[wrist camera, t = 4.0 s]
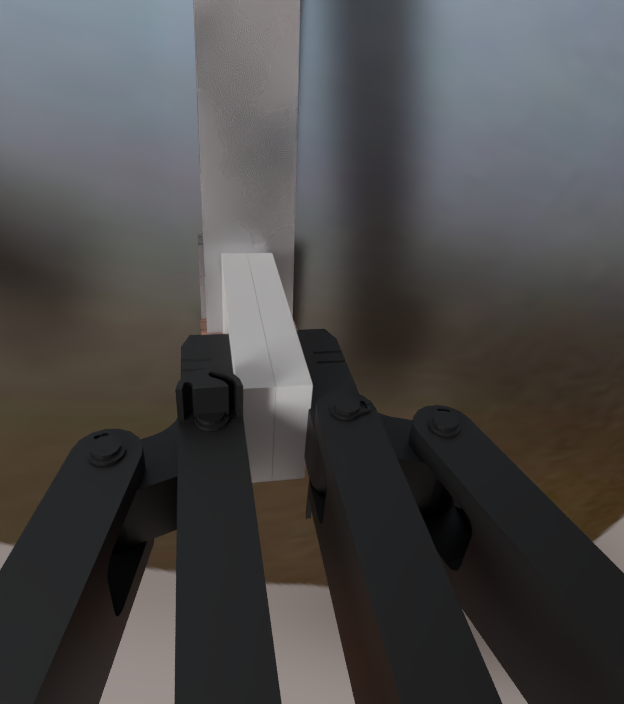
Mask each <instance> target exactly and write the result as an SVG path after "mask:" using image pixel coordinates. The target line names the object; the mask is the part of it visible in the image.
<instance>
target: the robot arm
mask: <svg viewBox="0 0 624 704" xmlns="http://www.w3.org/2000/svg"><path fill="white" fill-rule="evenodd" d="M221 261H222V309H223V334H210V335H190V336H189V337H188V338H187V340H186V341H185V342H184V344H183V345H182V346H181V380H180V381H179V382H178V384H177V387H176V402H177V414H178V418H177V420H176V421H175V422H174V423H173V424H172V425H171V426H170V427H169V428H167V429H166V430H164V431H162V432H161V433H158V434H156V435H153V436H150V437H147V438H144V439H139V437H137V436H136V435H135V434H133V433H132V432H130V431H126V430H122V429H104V430H101V431H98V432H94V433H91V434H89V435H88V436H86V437H84V438H83V439H81V440H79V442H78V443H77V444H76V445H75V446H74V447H73V448H72V450H71V451H70V453H69V455H68V456H67V458H66V460H65V461H64V463H63V465H62V466H61V468H60V470H59V472H58V473H57V475H56V477H55V478H54V480H53V482H52V483H51V485H50V487H49V489H48V490H47V492H46V494H45V495H44V497H43V499H42V500H41V502H40V504H39V505H38V507H37V509H36V511H35V512H34V514H33V516H32V517H31V519H30V521H29V522H28V524H27V526H26V527H25V529H24V531H23V533H22V534H21V536H20V538H19V539H18V541H17V543H16V544H15V546H14V548H13V550H12V552H11V553H10V555H9V556H8V558H7V560H6V561H5V563H4V565H3V567H2V568H1V570H0V704H99V702H100V699H101V696H102V693H103V690H104V687H105V684H106V681H107V679H108V676H109V673H110V669H111V667H112V664H113V661H114V658H115V655H116V652H117V649H118V646H119V643H120V641H121V638H122V634H123V631H124V629H125V626H126V623H127V620H128V617H129V614H130V611H131V608H132V606H133V602H134V600H135V597H136V594H137V591H138V588H139V585H140V582H141V579H142V576H143V573H144V571H145V568H146V565H147V562H148V559H149V556H150V553H151V550H152V547H153V544H154V538H156V537H159V536H161V535H164V534H166V533H169V532H171V531H174V530H177V555H176V636H175V637H176V638H175V704H281V698H280V697H281V696H280V689H279V681H278V674H277V666H276V659H275V652H274V644H273V637H272V629H271V622H270V614H269V607H268V599H267V592H266V584H265V577H264V569H263V562H262V554H261V547H260V539H259V532H258V524H257V517H256V509H255V502H254V494H253V487H252V483H254V482H265V481H276V480H287V479H298V478H304V475H305V464H306V466H307V470H308V475H309V486H308V496H307V506H306V519H307V518H311V511H312V515H313V520H314V524H315V529H316V533H317V537H318V542H319V546H320V551H321V555H322V559H323V564H324V568H325V573H326V577H327V581H328V586H329V590H330V595H331V599H332V603H333V608H334V612H335V617H336V621H337V625H338V630H339V634H340V639H341V643H342V647H343V652H344V656H345V661H346V665H347V670H348V674H349V678H350V682H351V687H352V692H353V696H354V700H355V704H502V702H501V700H500V697H499V695H498V693H497V690H496V688H495V685H494V683H493V681H492V678H491V676H490V674H489V671H488V669H487V667H486V665H485V662H484V660H483V657H482V656H481V653H480V650H479V648H478V646H477V644H476V641H475V639H474V637H473V634H472V632H471V629H470V627H469V625H468V623H467V620H466V618H465V615H464V613H463V611H464V612H465V613H466V615H467V616H468V618H469V619H470V621H471V622H472V623H473V625H474V626H475V628H476V629H477V631H478V632H479V633H480V635H481V636H482V638H483V639H484V641H485V642H486V644H487V645H488V646H489V648H490V649H491V651H492V652H493V654H494V655H495V657H496V658H497V659H498V661H499V662H500V663H501V665H502V667H503V668H504V669H505V671H506V672H507V673H508V675H509V677H510V678H511V679H512V681H513V682H514V684H515V685H516V687H517V688H518V689H519V691H520V692H521V694H522V695H523V697H524V698H525V700H526V701H527V703H528V704H624V573H623V572H622V571H621V570H620V569H619V568H618V567H617V566H616V565H615V564H614V563H613V562H612V561H611V560H610V559H609V558H608V557H607V556H606V555H605V554H604V553H603V552H602V551H601V550H600V549H599V548H598V547H597V546H596V545H595V544H594V543H593V542H592V541H591V540H590V539H589V538H588V537H587V536H586V535H585V534H584V533H583V532H582V531H581V530H580V529H579V528H578V527H577V526H576V525H575V524H574V523H573V522H572V521H571V520H570V519H569V518H568V517H567V516H566V515H565V514H564V513H563V512H562V511H561V510H560V509H559V508H558V507H557V506H556V505H555V504H554V503H553V502H552V501H551V500H550V499H549V498H548V497H547V496H546V495H545V494H544V493H543V492H542V491H541V490H540V489H539V488H538V487H537V486H536V485H535V484H534V483H533V482H532V481H531V480H530V479H529V478H528V477H527V476H526V475H525V474H524V473H523V472H522V471H521V470H520V469H519V468H518V467H517V466H516V465H515V464H514V463H513V462H512V461H511V460H510V459H509V458H508V457H507V456H506V455H505V454H504V453H503V452H502V451H501V450H500V449H499V448H498V447H497V446H496V445H495V444H494V443H493V442H492V441H491V440H490V439H489V438H488V437H487V436H486V435H485V434H484V433H483V432H482V431H481V430H480V429H479V428H478V427H477V426H476V425H475V424H474V423H473V422H472V421H471V420H470V419H469V418H468V417H467V416H465V415H464V414H462V413H461V412H460V411H457V410H455V409H452V408H450V407H445V406H439V405H435V406H426V407H424V408H422V409H420V410H418V411H417V412H416V414H415V415H414V417H413V420H407V419H401V418H395V417H390V416H386V415H383V414H380V413H378V412H377V410H376V408H375V407H374V405H373V404H372V402H371V401H370V400H368V399H367V398H365V397H364V396H362V395H359V393H358V390H357V388H356V385H355V383H354V380H353V378H352V376H351V373H350V371H349V368H348V366H347V363H345V359H344V356H343V354H342V353H341V349H340V346H339V344H338V341H337V339H336V338H335V337H334V336H332V335H331V334H330V333H329V332H328V331H327V330H325V329H309V330H296V329H295V325H294V322H293V319H292V315H291V312H290V309H289V306H288V302H287V299H286V296H285V293H284V289H283V286H282V283H281V280H280V276H279V273H278V270H277V267H276V263H275V260H274V257H273V254H272V253H221ZM462 609H463V611H462Z"/></svg>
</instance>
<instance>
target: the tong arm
mask: <svg viewBox="0 0 624 704" xmlns="http://www.w3.org/2000/svg"><path fill="white" fill-rule="evenodd" d="M194 23H195V48H196V73H197V98H198V122H199V147H200V172H201V197H202V222H203V247H204V272H205V296H206V318H202V319H201V335H210V334H223V309H222V261H221V253H272V254H273V257H274V260H275V263H276V267H277V270H278V273H279V276H280V280H281V283H282V286H283V289H284V293H285V296H286V299H287V302H288V306H289V309H290V312H291V315H292V319H293V278H294V237H295V196H296V155H297V115H298V74H299V33H300V0H194ZM293 322H294V320H293ZM294 325H295V329H296V330H298V328H297V326H296V324H295V322H294Z"/></svg>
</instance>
